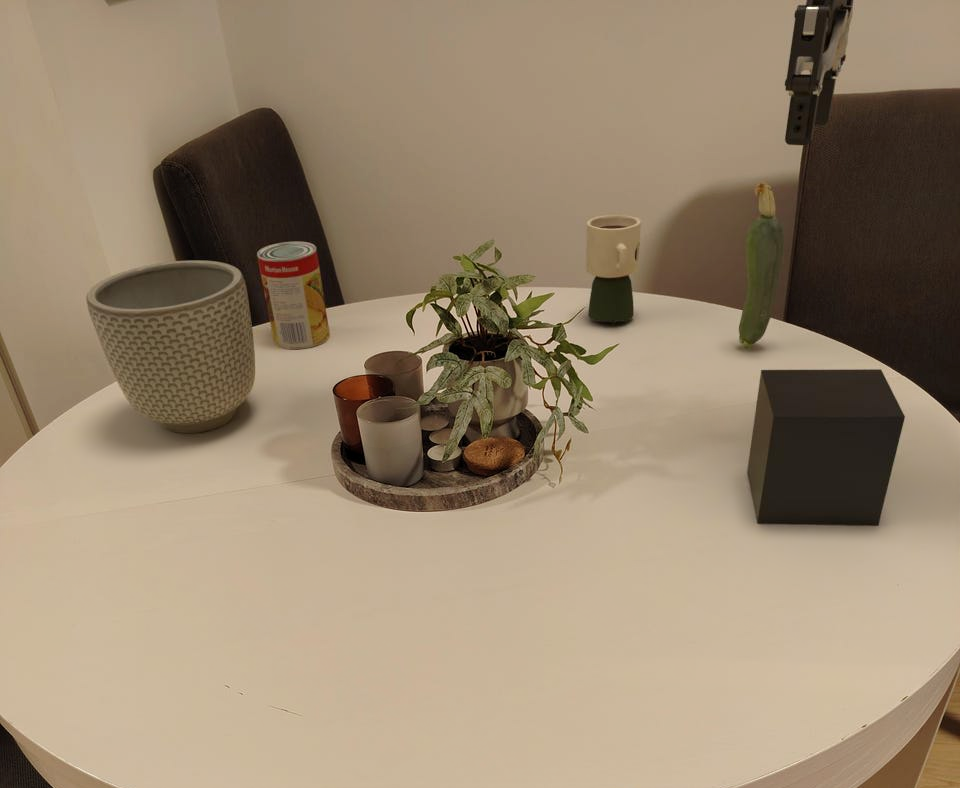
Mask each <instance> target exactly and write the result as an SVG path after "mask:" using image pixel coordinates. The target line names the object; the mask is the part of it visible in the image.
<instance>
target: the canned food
mask: <svg viewBox="0 0 960 788" xmlns="http://www.w3.org/2000/svg"><path fill="white" fill-rule="evenodd" d="M256 258H257V263H258V267H259V274H260V278H261V283H262V288H263V292H264V298H265V303H266V308H267V313H268V318H269V319H268V320H269V324H270V328H271V333H272V339H273V343H274V345H275V346H277V347H278V348H281V349H284V350H285V349H286V350H305V349H309V348H315V347H317V346H320V345H322V344H325V343H326V342H327V341H329V339H330V337H331V332H330V327H329V321H328V313H327V308H326V307H327V306H326V301H325V295H324V294H325V293H324V288H323V283H322V276H321V268H320V263H319V257H318V250H317V246H316V245H315V244H313V243H311V242H307V241H298V240H297V241H283V242H278V243H274V244H270V245H267V246H264V247H262V248H260V249H259V250H258V251H257V252H256Z"/></svg>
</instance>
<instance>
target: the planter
mask: <svg viewBox="0 0 960 788" xmlns="http://www.w3.org/2000/svg"><path fill="white" fill-rule="evenodd" d="M85 299H86V305H87V310H88V314H89V317H90V320H91V322H92V325H93V328H94V330H95V332H96V335H97V337H98V340H99V343H100V345H101V347H102V350H103V352H104V355H105V358H106V360H107V362H108V365H109V367H110V369H111V371H112V373H113V376H114V378H115V381H116V382H117V384H118V386H119V388H120V390H121V392H122V394H123V395H124V397H125V399H126V400H127V402H128V403H129V404H130V406H131V407H132V408H133V409H134V410H136V411H137V412H138V413H139V414H141V415H143V416H144V417H146V418H148V419H150V420H153V421H155V422H158V423H160V424H161V425H162V426H164V428H166V429H167V430H169V431H171V432H174V433H179V434H196V433H203V432H208V431H212V430H214V429H218V428H220V427H222V426H224V425H226V424H227V423H229V422H230V421H231V420H232V419H233V418H234V417H235V415H236V412H237V409H238V407H239V406H241V405H242V404H243V403H244V401H245V400H247V398H248V396H249V395H250V394H251V392H252V390H253V387H254V384H255V381H256V380H255V379H256V354H255V352H256V351H255V342H254V331H253V324H252V318H251V317H252V316H251V309H250V302H249V294H248V289H247V284H246V280H245V278H244V275H243V273H242V271H241V270H240V269H239V268H237V267H235V266H233V265H231V264H229V263H225V262H220V261H215V260H200V259H199V260H195V259H194V260H174V261H166V262H159V263H153V264H148V265H142V266H138V267H135V268H132V269H127V270H124V271H122V272H118V273H116V274H113V275H111V276H109V277H106V278H104V279H102V280H100V281H99V282H97V283H96V284H95V285H93V286H92V287H91V288H90V289H89V290H88V292H87V294H86V296H85Z"/></svg>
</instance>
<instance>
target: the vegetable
mask: <svg viewBox="0 0 960 788" xmlns="http://www.w3.org/2000/svg"><path fill="white" fill-rule="evenodd" d="M771 188H772V187H771V186H770V185H768V183H766V182H764V181H761V182H759V183H758V184H756V187H755V188H754V195H755V197H758V196H759V197H758V211H759V216H758V217H757V218H756V219H754V220H753V221H752V222H751V224H749V227H748V229H747V233H746V238H745V266H746V267H745V268H746V276H747V288H746V294H745V298H744V303H743V307H742V312H741V317H740V320H739V324H738V334H739V337H738V340H739V343H740V344H742V347H743V348H744V349H747V350H748V349H751V347H753V346H755V344H756V343H757V342H758V341H760V340H761V339H762V338H763V336H764V335H765V333H766V331H767V328H768V325H769V323H770V320H771V317H772V314H773V308H774V303H775V299H776V292H777V288H778V283H779V278H780V277H779V276H780V270H781V267H782V259H783V252H784V251H783V250H784V229H783V225H782V224H781V222H780V220H779V219H778V218H777V217H776V210H777V207H776V203H775V196H774V191H773V190H771Z"/></svg>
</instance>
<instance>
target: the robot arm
mask: <svg viewBox="0 0 960 788" xmlns="http://www.w3.org/2000/svg"><path fill="white" fill-rule="evenodd" d="M853 5H854V0H806V3H805V4H799V5H797V7H796V10H795V11H794V17H793V18H794V25H793V31H792V38H791V45H790V53H789V60H788V65H787V73H786V78H785V81H784V87H785V89H784V90H785V91H786V92H788V96H789V97H790V100H789V107H788V114H787V122H786V129H785V136H784V141H785V143H786V144H787V145H789V146H808V145H809V144H810V143H811V142H812V140H813V137H814V129H815V126H825V125H826V124H828V122H829V121H830V118H831V113H832V112H831V111H832V106H833V99H834V93H835V89H836V88H835V86H836V80H837V79H836V78H837V77H839V74H840V73H841V71H842V66H843V65H844V62H845V61H846V58H847V55H846V52H847V51H846V50H847V46H848V44H849V43H848V42H849V31H850V26H851V23H852V18H853V15H854V14H853V13H854V12H853V11H854V6H853ZM804 71H808V72H809V73H808V74H807V73H806V74H804V73H803V72H804ZM835 77H836V78H835Z"/></svg>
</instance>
